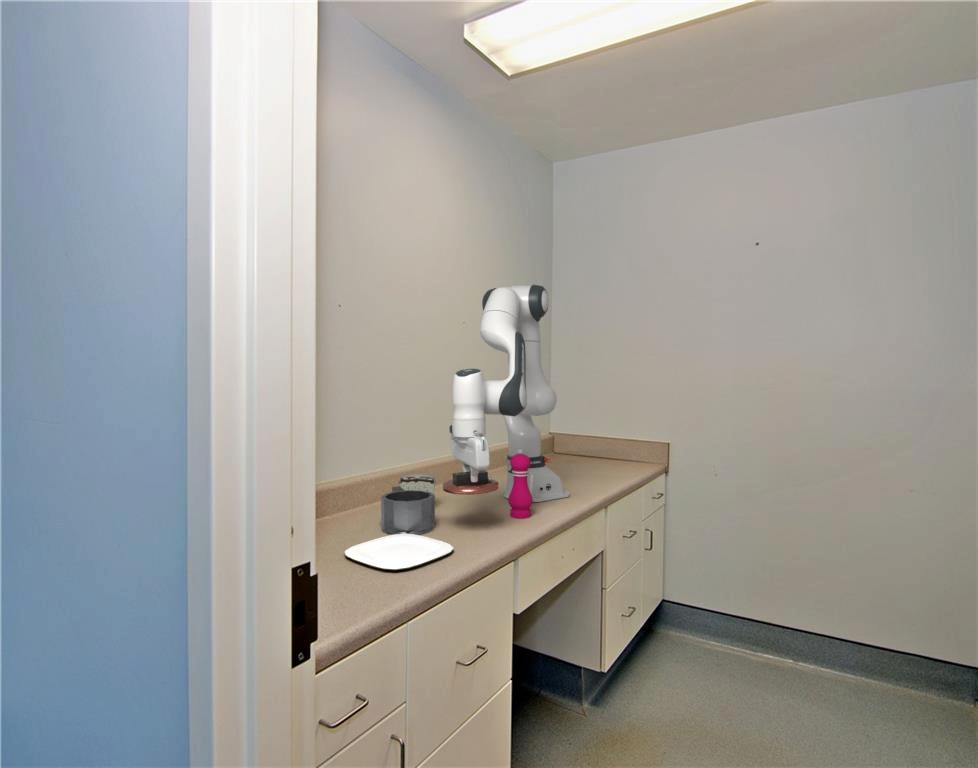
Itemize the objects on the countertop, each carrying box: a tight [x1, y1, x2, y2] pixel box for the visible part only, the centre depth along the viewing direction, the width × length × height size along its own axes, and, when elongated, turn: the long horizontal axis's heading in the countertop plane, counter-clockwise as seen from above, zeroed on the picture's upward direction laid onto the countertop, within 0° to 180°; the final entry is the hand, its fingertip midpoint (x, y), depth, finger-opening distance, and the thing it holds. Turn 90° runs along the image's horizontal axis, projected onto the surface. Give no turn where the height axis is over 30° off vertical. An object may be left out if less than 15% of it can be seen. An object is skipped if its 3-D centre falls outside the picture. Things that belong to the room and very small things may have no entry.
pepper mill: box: [507, 449, 534, 519], centre depth 165 cm, size 7×7×20 cm
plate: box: [344, 534, 455, 571], centre depth 131 cm, size 22×22×2 cm
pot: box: [380, 485, 436, 536], centre depth 156 cm, size 14×22×9 cm, turn 22°
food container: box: [397, 473, 438, 495], centre depth 176 cm, size 12×6×10 cm, turn 84°
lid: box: [442, 469, 499, 496], centre depth 151 cm, size 15×15×4 cm
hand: (470, 479), depth 151 cm, fingers closed on lid, 3 cm apart
